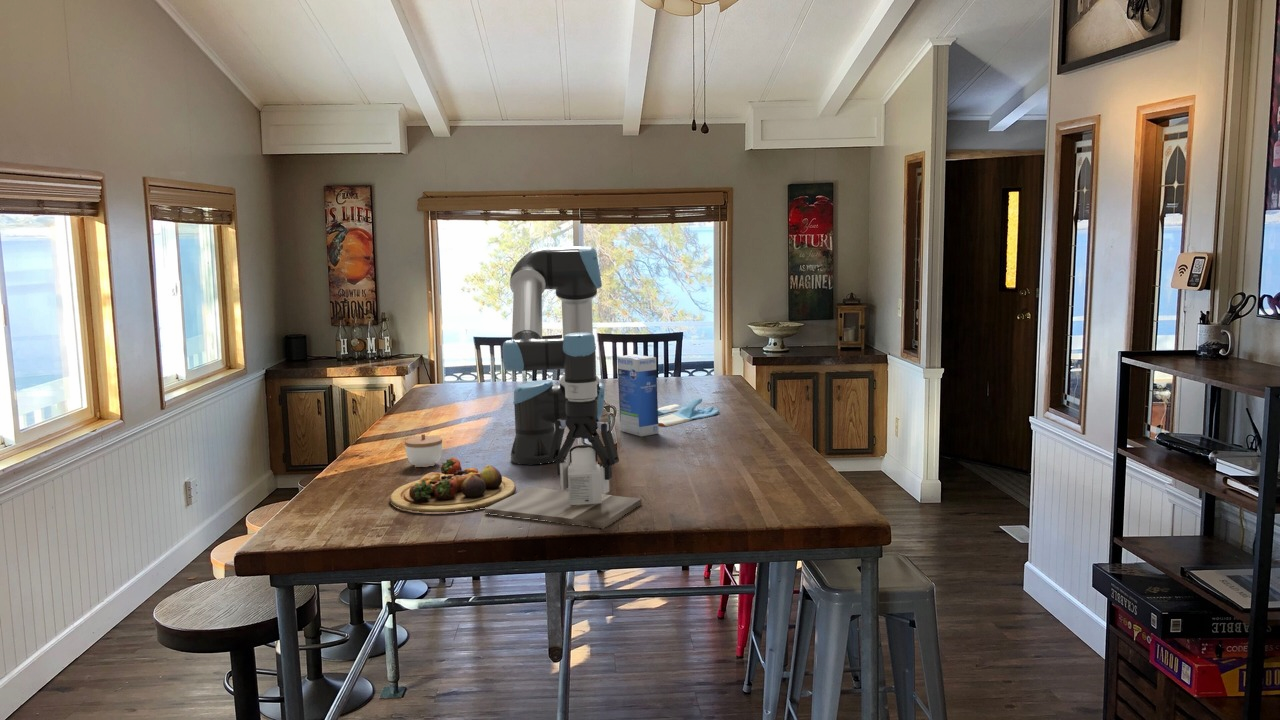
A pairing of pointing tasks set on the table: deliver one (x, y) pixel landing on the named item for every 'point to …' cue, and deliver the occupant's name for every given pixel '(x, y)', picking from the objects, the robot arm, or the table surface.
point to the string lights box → (638, 394)
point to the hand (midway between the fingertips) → (584, 490)
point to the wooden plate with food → (454, 489)
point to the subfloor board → (563, 507)
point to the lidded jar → (424, 450)
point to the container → (584, 476)
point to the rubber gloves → (684, 413)
